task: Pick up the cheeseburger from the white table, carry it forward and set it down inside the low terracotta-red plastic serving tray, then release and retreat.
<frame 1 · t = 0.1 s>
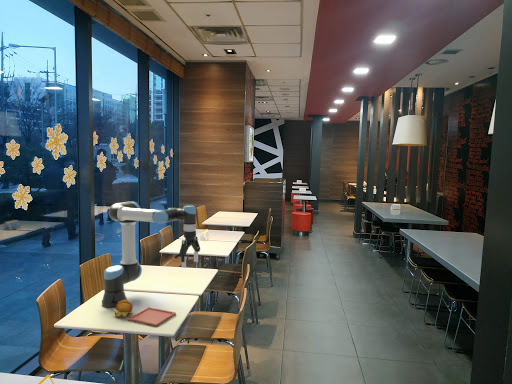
hand: (190, 264, 228), 28 cm above the table, fingers open, 13 cm apart
tray: (152, 317, 216), on the table
cheeseburger: (123, 315, 219), on the table
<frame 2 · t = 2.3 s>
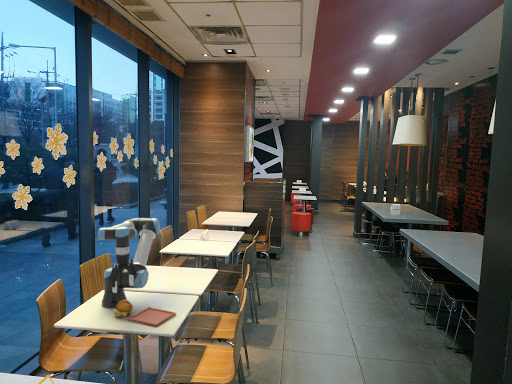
hand: (123, 288, 218), 16 cm above the table, fingers open, 13 cm apart
nothing on the table moved.
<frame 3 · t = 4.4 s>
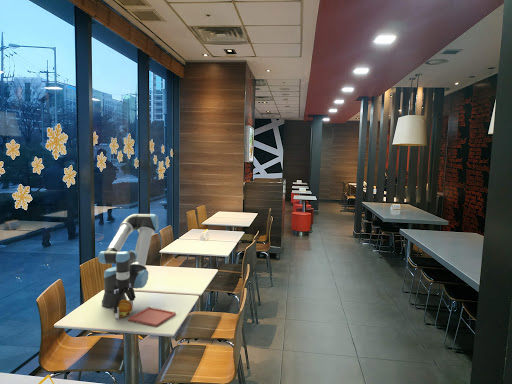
hand: (123, 314, 219), 0 cm above the table, fingers closed on cheeseburger, 10 cm apart
cheeseburger: (123, 315, 219), on the table, touching gripper
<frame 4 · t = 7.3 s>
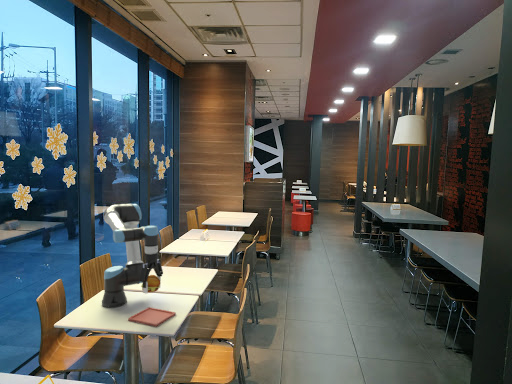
hand: (151, 290, 214), 17 cm above the table, fingers closed on cheeseburger, 10 cm apart
cheeseburger: (151, 290, 215), point 16 cm above the table, touching gripper
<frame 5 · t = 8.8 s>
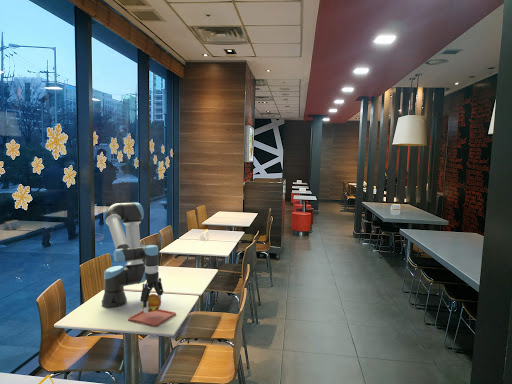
hand: (152, 309, 215), 5 cm above the table, fingers closed on cheeseburger, 10 cm apart
cheeseburger: (152, 309, 215), point 5 cm above the table, touching gripper
when the fingers open (3 cm above the table, at t = 10.2 s): cheeseburger drops 1 cm, resting on tray.
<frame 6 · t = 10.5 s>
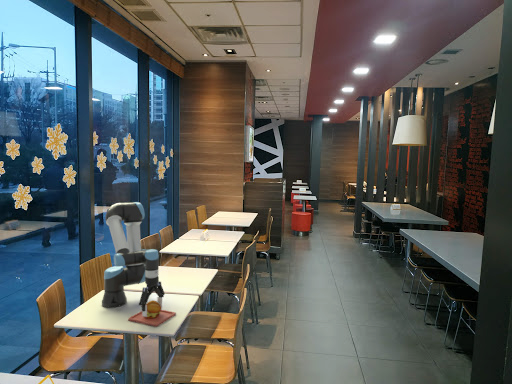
hand: (152, 311, 216), 3 cm above the table, fingers open, 13 cm apart
cheeseburger: (152, 316, 216), point 1 cm above the table, touching tray
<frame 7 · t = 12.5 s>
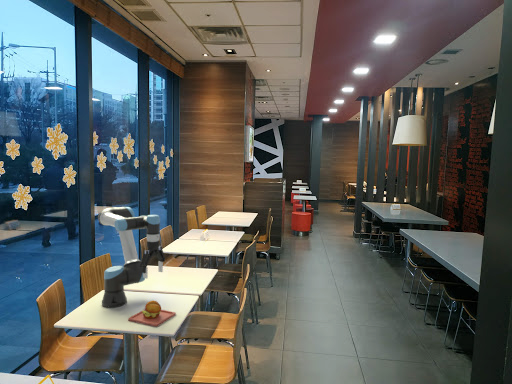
hand: (153, 274, 224), 23 cm above the table, fingers open, 13 cm apart
nothing on the table moved.
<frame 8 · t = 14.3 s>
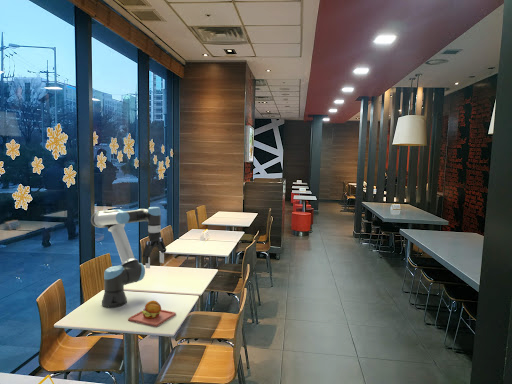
hand: (155, 265, 230), 27 cm above the table, fingers open, 13 cm apart
nothing on the table moved.
at the end: cheeseburger inside the target area on the tray (0.5 cm from its centre), point 0.6 cm above the tray's base; cheeseburger tilted 0°; the gripper is holding nothing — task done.
